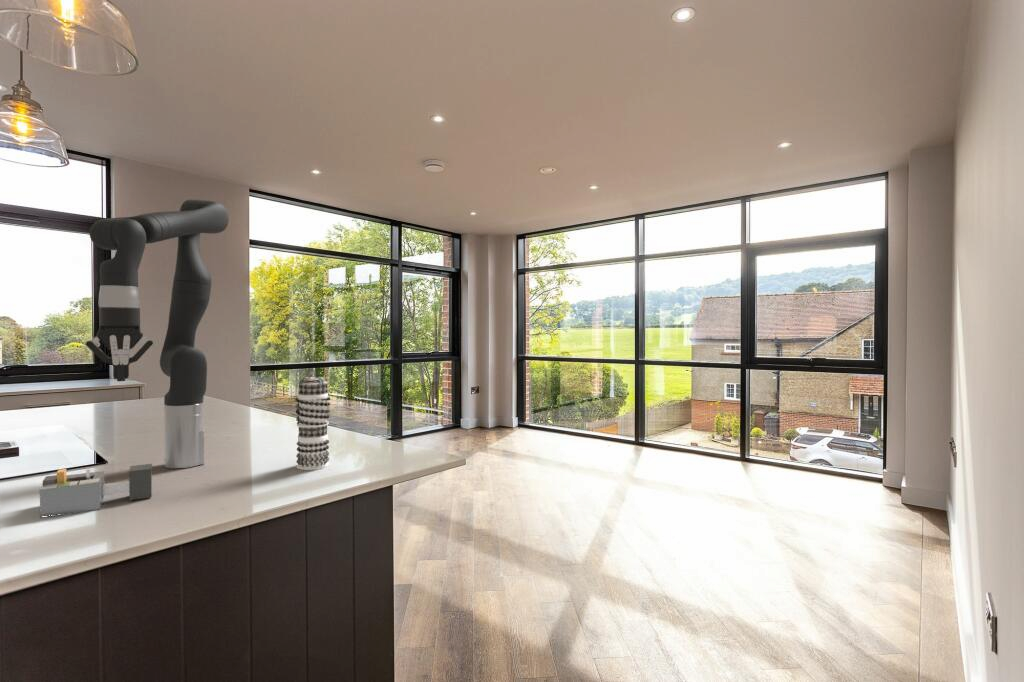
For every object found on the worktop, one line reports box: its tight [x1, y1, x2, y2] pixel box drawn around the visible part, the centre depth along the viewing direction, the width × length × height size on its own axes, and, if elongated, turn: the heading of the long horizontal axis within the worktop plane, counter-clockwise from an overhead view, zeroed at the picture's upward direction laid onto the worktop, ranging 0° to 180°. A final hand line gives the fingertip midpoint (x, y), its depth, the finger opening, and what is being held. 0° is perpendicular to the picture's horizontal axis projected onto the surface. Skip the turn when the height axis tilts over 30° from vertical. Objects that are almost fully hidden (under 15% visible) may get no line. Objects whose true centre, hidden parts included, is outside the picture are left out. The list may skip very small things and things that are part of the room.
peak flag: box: [56, 468, 67, 483], centre depth 109 cm, size 1×3×7 cm, turn 34°
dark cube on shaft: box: [85, 463, 153, 501], centre depth 115 cm, size 12×5×8 cm, turn 124°
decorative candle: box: [294, 376, 331, 471], centre depth 144 cm, size 9×9×25 cm
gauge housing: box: [39, 470, 106, 518], centre depth 110 cm, size 10×10×7 cm
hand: (121, 380), depth 119 cm, fingers closed
